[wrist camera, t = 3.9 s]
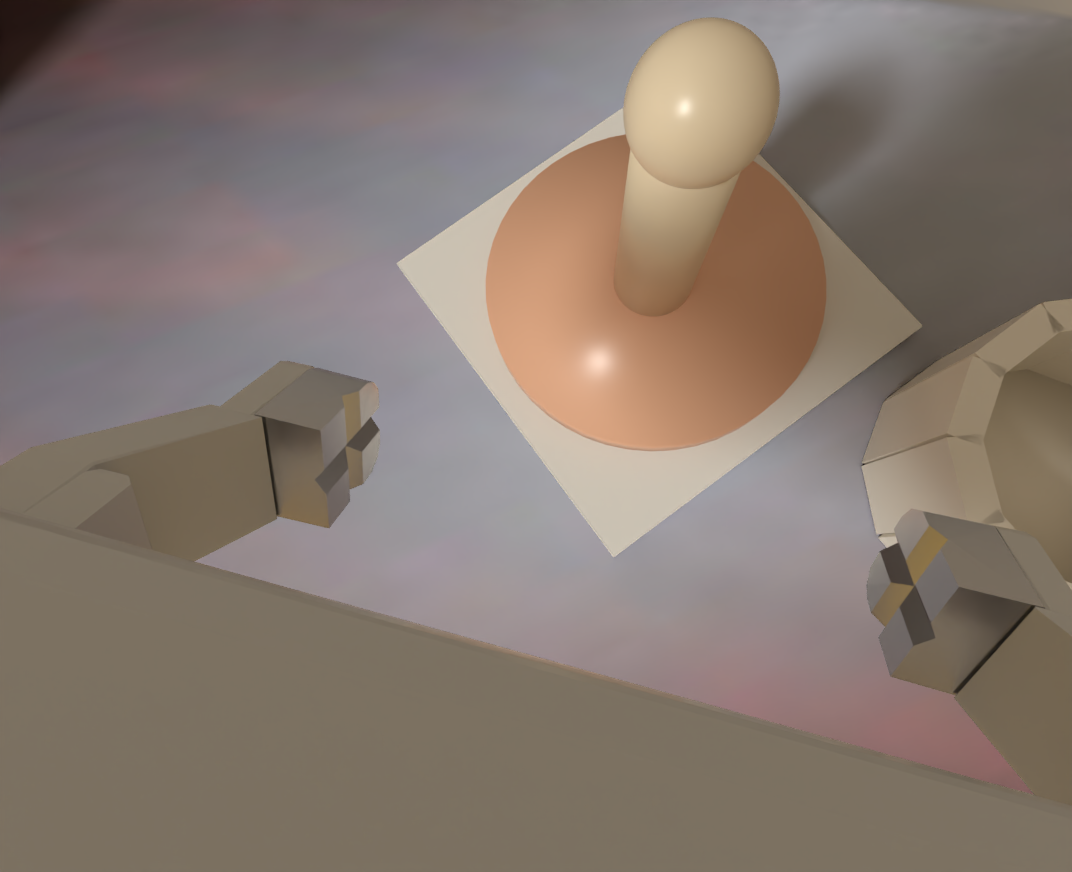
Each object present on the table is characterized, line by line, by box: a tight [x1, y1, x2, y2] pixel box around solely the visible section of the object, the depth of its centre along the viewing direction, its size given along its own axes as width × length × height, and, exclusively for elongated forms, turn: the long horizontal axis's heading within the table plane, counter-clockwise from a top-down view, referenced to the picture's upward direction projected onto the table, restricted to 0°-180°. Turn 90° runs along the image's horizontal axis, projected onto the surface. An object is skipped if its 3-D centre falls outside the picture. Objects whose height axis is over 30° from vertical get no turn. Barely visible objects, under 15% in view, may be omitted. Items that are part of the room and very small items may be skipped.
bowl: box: [862, 299, 1072, 590], centre depth 20 cm, size 10×10×6 cm
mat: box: [397, 107, 923, 557], centre depth 25 cm, size 15×15×1 cm
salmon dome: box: [486, 18, 826, 451], centre depth 19 cm, size 13×13×12 cm
